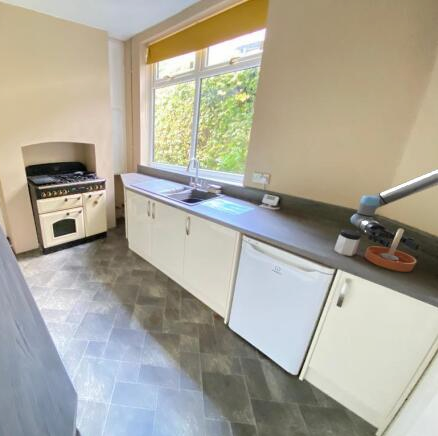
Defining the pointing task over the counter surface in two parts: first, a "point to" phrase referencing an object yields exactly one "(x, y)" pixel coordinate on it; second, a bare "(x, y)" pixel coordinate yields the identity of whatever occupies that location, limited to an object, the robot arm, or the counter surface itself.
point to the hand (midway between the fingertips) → (402, 246)
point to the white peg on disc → (393, 247)
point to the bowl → (403, 263)
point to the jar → (347, 242)
